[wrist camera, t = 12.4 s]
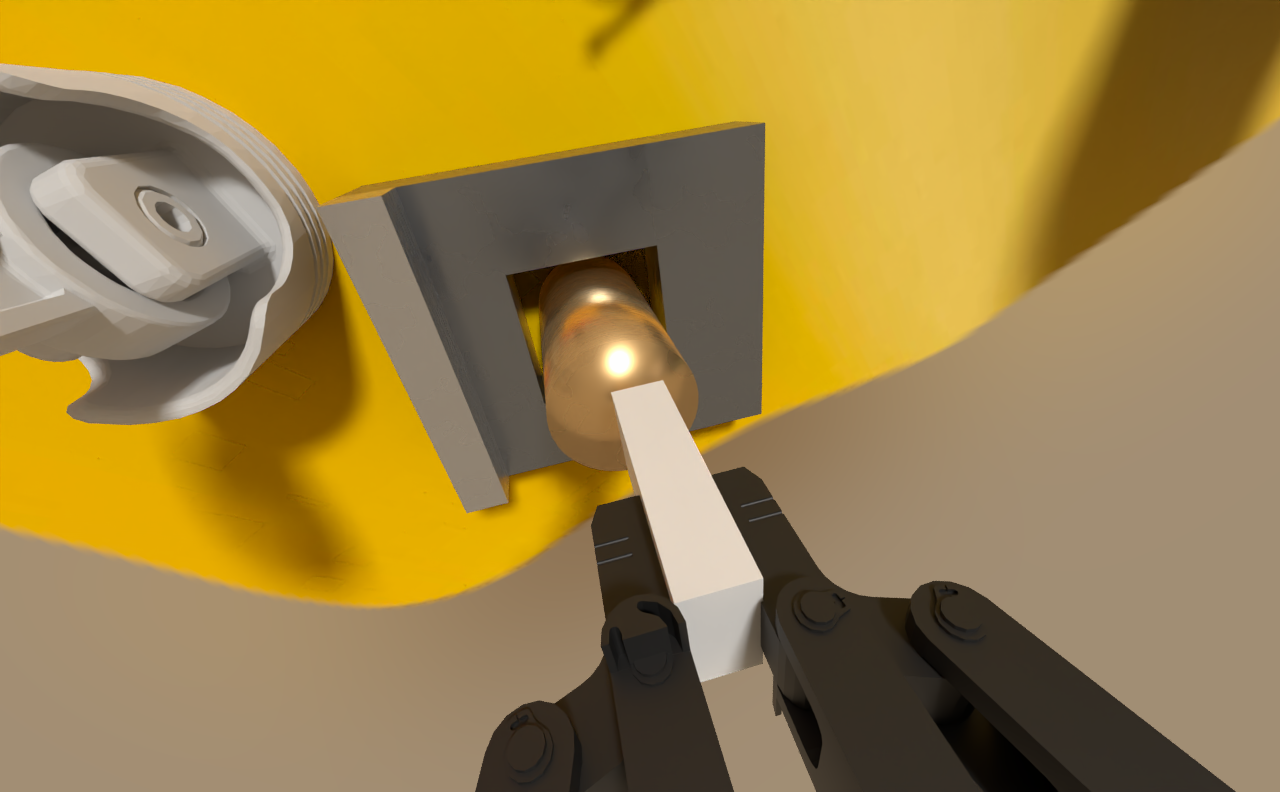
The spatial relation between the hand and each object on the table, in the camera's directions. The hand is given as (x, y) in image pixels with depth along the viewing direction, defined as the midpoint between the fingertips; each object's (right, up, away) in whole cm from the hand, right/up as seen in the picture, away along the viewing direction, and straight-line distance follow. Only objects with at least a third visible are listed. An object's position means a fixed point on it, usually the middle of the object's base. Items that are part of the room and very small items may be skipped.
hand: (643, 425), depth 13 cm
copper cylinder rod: (-3, +6, +10) cm, 12 cm away
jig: (-3, +5, +10) cm, 12 cm away
